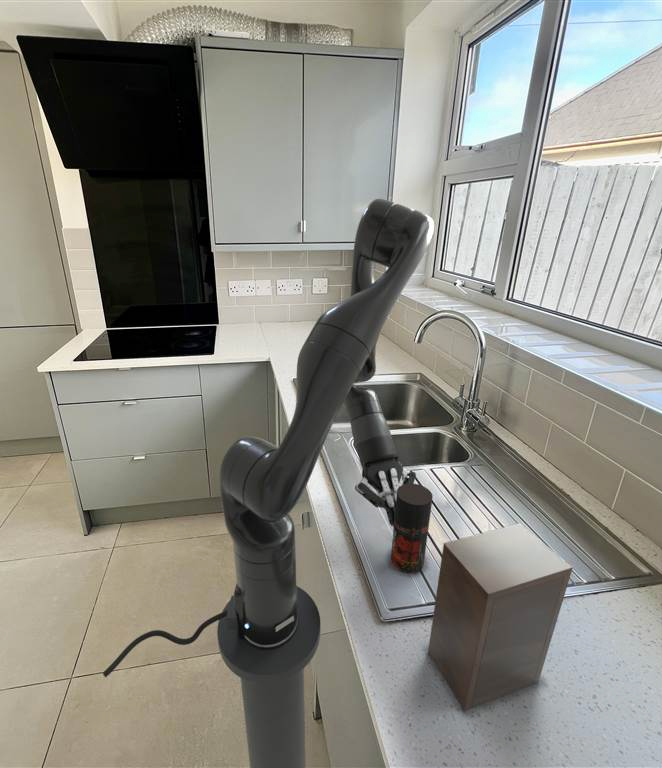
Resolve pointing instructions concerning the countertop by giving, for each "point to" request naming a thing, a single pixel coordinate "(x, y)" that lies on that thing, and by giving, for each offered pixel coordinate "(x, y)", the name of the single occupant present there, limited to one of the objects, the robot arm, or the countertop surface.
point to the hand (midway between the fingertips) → (399, 527)
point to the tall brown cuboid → (495, 612)
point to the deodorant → (411, 527)
